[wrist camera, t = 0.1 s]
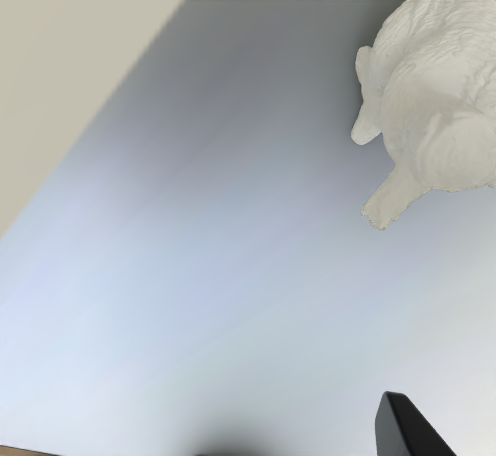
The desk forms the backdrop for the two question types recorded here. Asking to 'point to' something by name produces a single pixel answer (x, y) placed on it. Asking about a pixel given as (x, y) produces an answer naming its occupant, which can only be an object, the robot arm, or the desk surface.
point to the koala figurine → (430, 101)
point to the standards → (19, 452)
